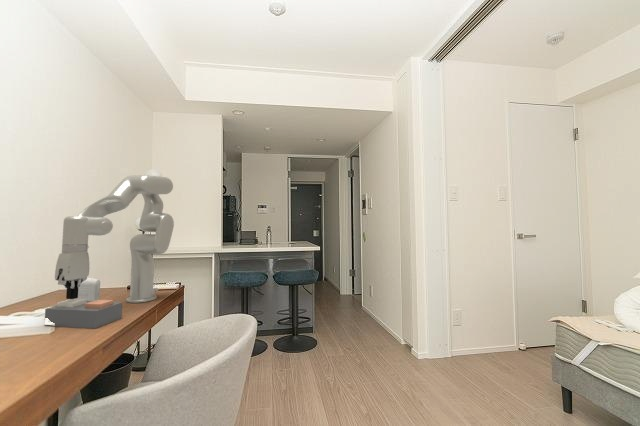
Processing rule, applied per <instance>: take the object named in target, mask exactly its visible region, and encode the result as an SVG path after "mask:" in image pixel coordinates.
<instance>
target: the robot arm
mask: <svg viewBox="0 0 640 426" xmlns="http://www.w3.org/2000/svg"><path fill="white" fill-rule="evenodd" d="M173 189H174V184H173V181H172V180H171V179H170V177H167V176H156V175H150V174H149V175H146V174H137V175H127V176H126V177H124V178H123V179H122V180H121V181H120V182H119V183H118V184H117V185H116V186H115V187H114V189H113V190H112V191H111V192H110V193H109V194H107V195H106V196H105V197H102V198H100V199H99V200H97V201H95V202H93V203H92V204H89V205H88V206H87V207H85V208H84V209H83V210H82V211H81V212H80V213H79V214H78V215H77V216H69V215H68V216H66V217H64V218H63V225H62V226H63V227H62V240H61V242H62V243H61V253H59V255H58V257H57V261H56V264H55V271H54V281H57V285H61V286H64V288H65V289H66V293H65V295H66V297H65V298H66V299H65V300H69V299H76V298H78V287H80V285H81V283H82V282H83V281H85V280H87V278H88V277H89V274H90V256H89V251H88V250H89V248H90V247H89V236H106V235H108V234H110V233H111V232H112V231H113V229H114V228H113V227H114V223H113V222H112V221H111V220H110V219H109V218H108V217H105V216H107V215H110V214H115V213H117V212H120V211H122V210H125V209H127V208H128V206H129V205H130V204H131V203H132V202H133V200H134V199H135V198H136V197H137V196H138V195H140V194H141V195H142V198H143V200H144V204H143V205H144V206H143V209H142V212H141V216H140V220H139V224H138V227H139V229H140V230H141V231H142V232H146V233H140V234H136V235H134V236H133V237H132V238H131V239H130V240H129V249H130V257H131V262H130V263H131V267H130V290H129V297H126V298H125V302H126V303H132V304H134V303H136V304H137V303H147V302H151V301H154V300H156V299H157V295H156V294H155V293H156V292H159V289H158V287H155V288H154V280H155V279H154V276H155V260H154V258H153V257H154V256H153V255H163V254H164V253H166V252H167V250H168V249H169V247H170V244H171V241H172V239H171V238H172V235H173V231H174V226H175V222H174V218H173V215H171V214H169V213H166V212H163V210H164V202H163V200H162V197H161V196H160V195H168V194H170V193H171V192H172V191H173ZM152 233H155V234H152Z"/></svg>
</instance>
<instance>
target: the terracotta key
mask: <svg viewBox="0 0 640 426" xmlns="http://www.w3.org/2000/svg"><path fill="white" fill-rule="evenodd" d="M113 302H114V300H113V299H99V300H96V301H92V302H89V303H86V304H85V308H93V309H101V308H104V307H107V306H110V305H113Z"/></svg>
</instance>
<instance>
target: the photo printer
mask: <svg viewBox="0 0 640 426" xmlns="http://www.w3.org/2000/svg"><path fill="white" fill-rule="evenodd" d="M100 294H101V281H100V279H98V278H97V279H96V278H94V277H87V280H85V281H83V282H82V283H81V285H80V287H78V298H76V299H87V301H96V300H100Z"/></svg>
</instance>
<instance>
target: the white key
mask: <svg viewBox="0 0 640 426" xmlns="http://www.w3.org/2000/svg"><path fill="white" fill-rule="evenodd" d="M86 303H87V299H65V300H62V301H57V304H56V306H57V307H70V308H72V307H76V306H79V305H83V304H86Z"/></svg>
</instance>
